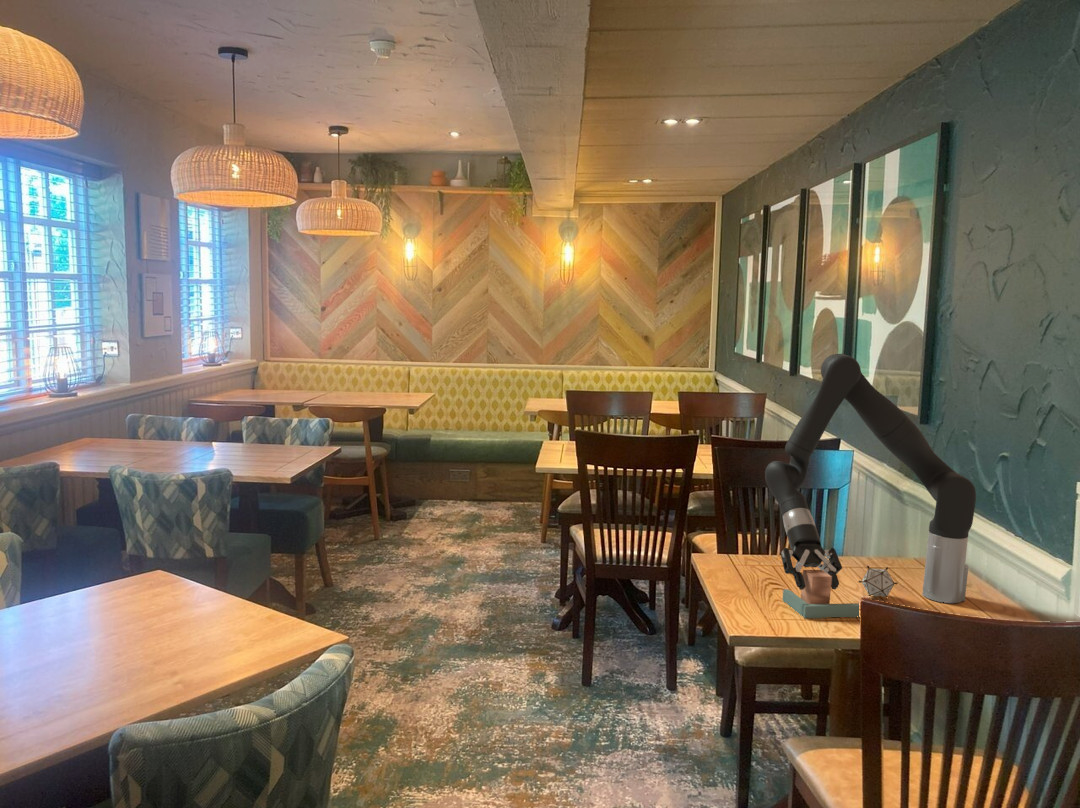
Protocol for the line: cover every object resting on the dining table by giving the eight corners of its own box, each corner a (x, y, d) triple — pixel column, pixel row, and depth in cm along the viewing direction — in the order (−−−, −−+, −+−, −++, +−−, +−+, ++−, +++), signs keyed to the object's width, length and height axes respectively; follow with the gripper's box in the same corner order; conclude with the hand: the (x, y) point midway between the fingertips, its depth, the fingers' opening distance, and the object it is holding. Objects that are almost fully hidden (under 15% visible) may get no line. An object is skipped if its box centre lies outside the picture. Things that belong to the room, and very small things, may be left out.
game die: (880, 613, 206) (890, 592, 199) (849, 594, 210) (858, 573, 203) (896, 591, 210) (906, 569, 203) (866, 573, 215) (875, 551, 208)
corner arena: (840, 600, 204) (841, 588, 203) (866, 617, 192) (867, 605, 192) (782, 600, 201) (783, 589, 201) (804, 618, 190) (805, 606, 189)
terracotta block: (818, 604, 199) (821, 569, 198) (828, 612, 194) (831, 576, 193) (800, 604, 198) (803, 569, 197) (809, 612, 193) (812, 576, 192)
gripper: (780, 522, 200) (797, 581, 190) (832, 522, 202) (853, 581, 192) (769, 536, 206) (786, 595, 196) (820, 537, 208) (839, 594, 198)
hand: (819, 588), depth 194 cm, fingers open, 8 cm apart
